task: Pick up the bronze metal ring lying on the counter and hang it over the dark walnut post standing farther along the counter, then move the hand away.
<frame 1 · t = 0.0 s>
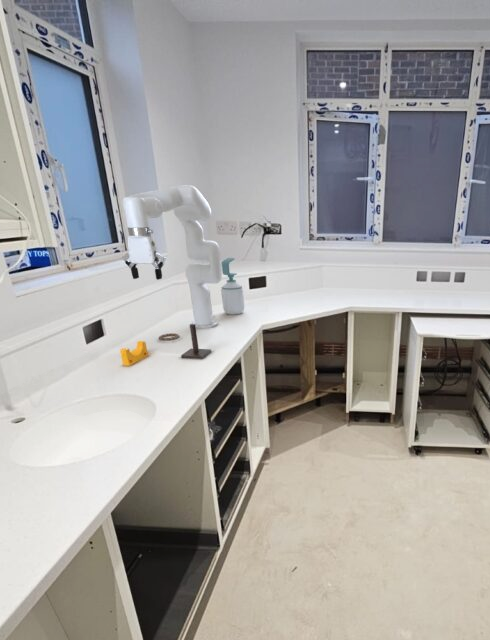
hand: (147, 278, 159), 31 cm above the worktop, tool pointing down, fingers open, 9 cm apart
ring: (169, 337, 189), point 1 cm above the worktop
post: (196, 354, 170), on the worktop
pipe clamp: (134, 361, 163), on the worktop
soap bottle: (234, 313, 238), on the worktop
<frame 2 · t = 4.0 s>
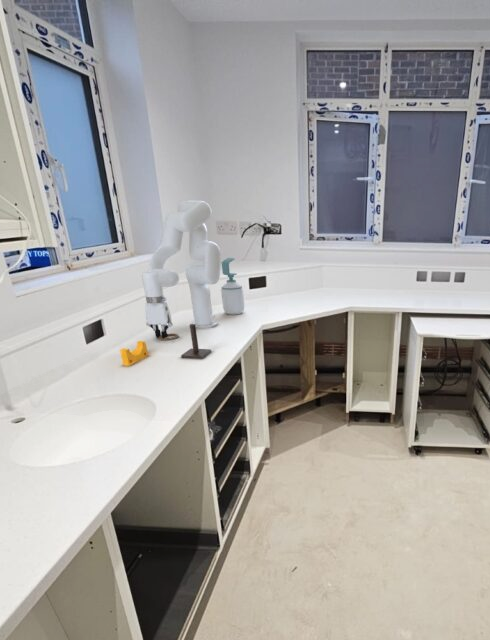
hand: (161, 338, 190), 0 cm above the worktop, tool pointing down, fingers closed on ring, 2 cm apart
ring: (168, 337, 189), point 1 cm above the worktop, touching gripper
everything else where it was.
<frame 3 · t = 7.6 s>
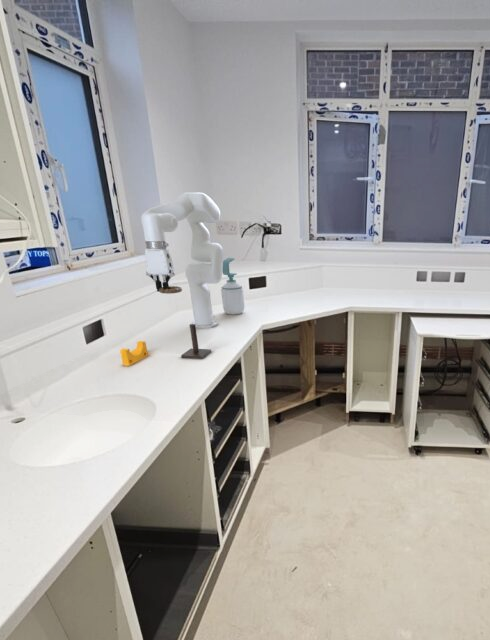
hand: (163, 290, 172), 24 cm above the worktop, tool pointing down, fingers closed on ring
ring: (170, 289, 171), point 25 cm above the worktop, touching gripper
everything else where it was.
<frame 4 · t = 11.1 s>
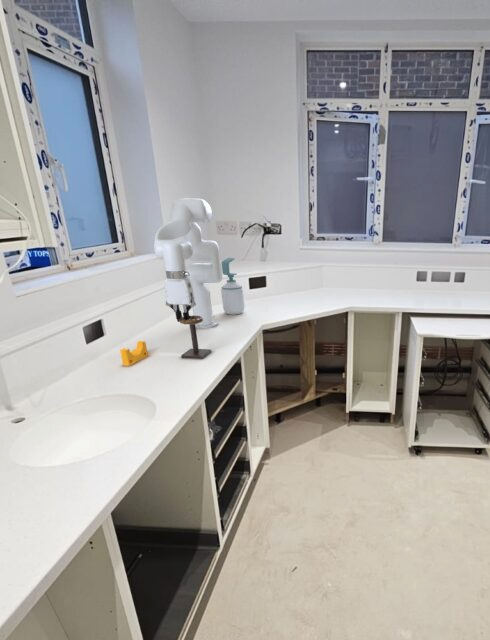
hand: (183, 320, 164), 15 cm above the worktop, tool pointing down, fingers closed on ring
ring: (191, 319, 164), point 15 cm above the worktop, touching gripper
everything else where it was.
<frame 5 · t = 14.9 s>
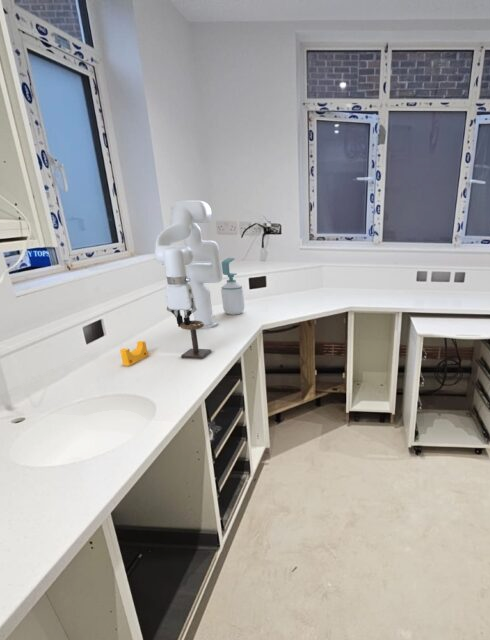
hand: (184, 325, 165), 12 cm above the worktop, tool pointing down, fingers closed on ring
ring: (192, 324, 165), point 13 cm above the worktop, touching gripper
everything else where it was.
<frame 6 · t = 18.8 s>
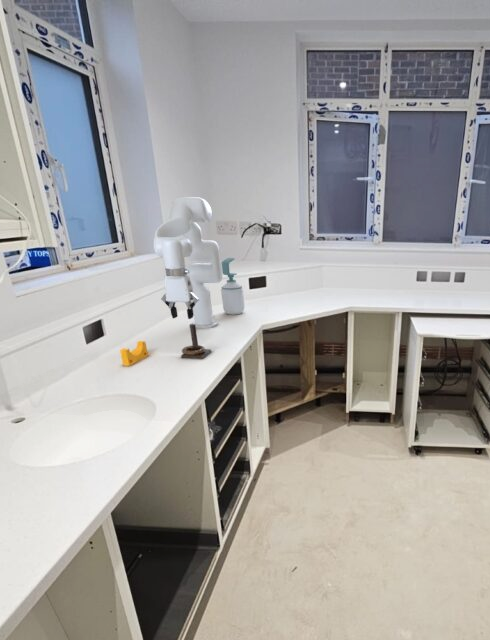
hand: (182, 317, 164), 16 cm above the worktop, tool pointing down, fingers open, 6 cm apart
ring: (193, 350, 169), point 2 cm above the worktop, touching post
everything else where it was.
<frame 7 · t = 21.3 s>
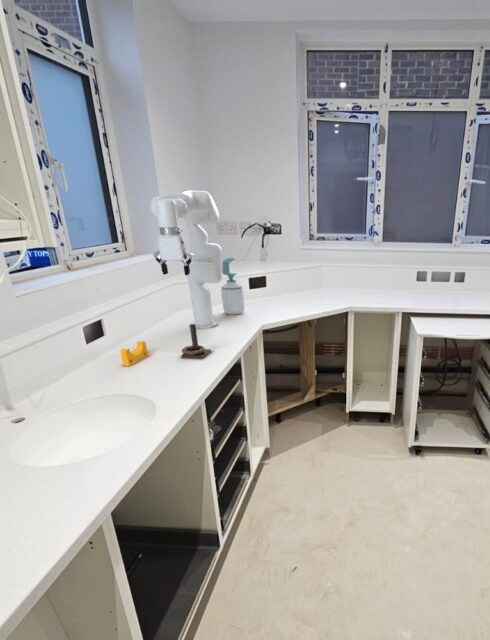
hand: (176, 274, 172), 31 cm above the worktop, tool pointing down, fingers open, 9 cm apart
nothing on the worktop moved.
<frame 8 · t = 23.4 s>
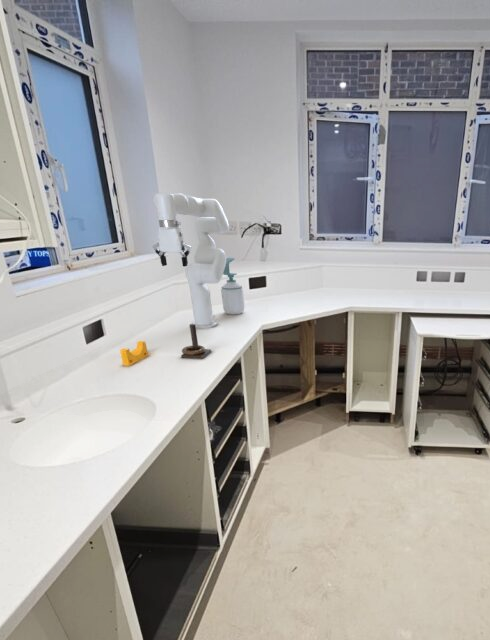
hand: (174, 265, 179), 33 cm above the worktop, tool pointing down, fingers open, 9 cm apart
nothing on the worktop moved.
at the end: ring 1.1 cm from the post (horizontally); ring point 2.1 cm above the worktop; the gripper is holding nothing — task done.
